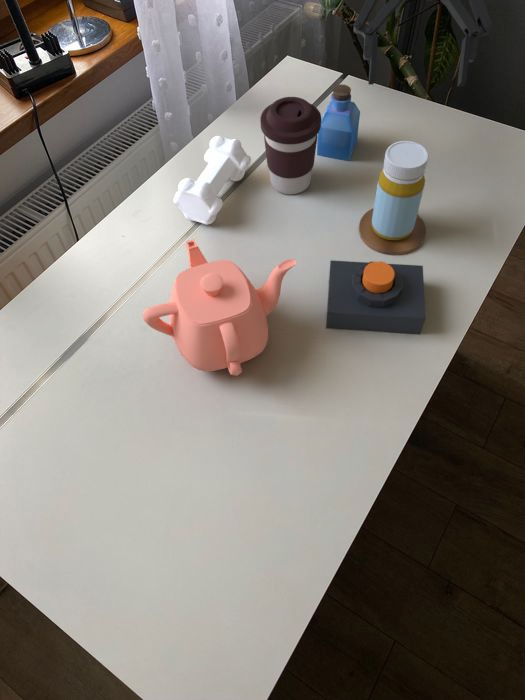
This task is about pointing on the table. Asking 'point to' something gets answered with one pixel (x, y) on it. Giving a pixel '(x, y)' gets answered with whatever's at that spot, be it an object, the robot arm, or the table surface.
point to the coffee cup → (290, 142)
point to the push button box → (375, 300)
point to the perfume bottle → (339, 125)
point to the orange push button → (378, 277)
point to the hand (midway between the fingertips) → (416, 83)
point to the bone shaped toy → (212, 180)
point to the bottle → (399, 190)
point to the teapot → (217, 312)
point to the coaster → (387, 245)
